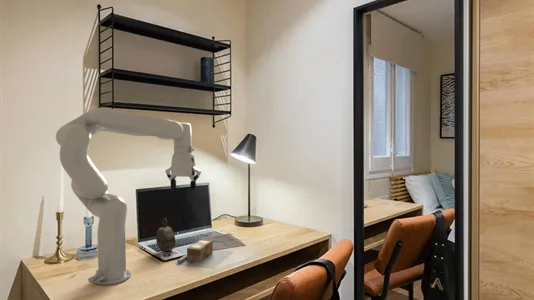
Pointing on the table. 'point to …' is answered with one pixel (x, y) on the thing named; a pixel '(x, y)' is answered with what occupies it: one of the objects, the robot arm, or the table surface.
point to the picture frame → (223, 241)
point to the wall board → (206, 259)
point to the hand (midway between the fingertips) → (183, 189)
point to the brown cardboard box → (200, 250)
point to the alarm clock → (165, 238)
